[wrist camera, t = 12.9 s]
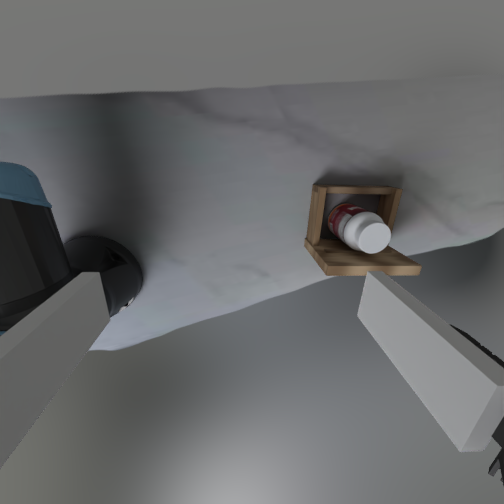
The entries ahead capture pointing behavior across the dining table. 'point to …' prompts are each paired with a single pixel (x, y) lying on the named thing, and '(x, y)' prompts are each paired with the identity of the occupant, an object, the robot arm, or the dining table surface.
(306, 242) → the brown wooden l-shaped frame
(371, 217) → the pill bottle
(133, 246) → the dining table surface
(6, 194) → the robot arm
